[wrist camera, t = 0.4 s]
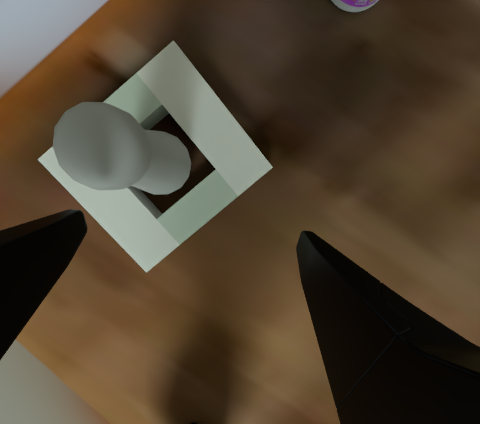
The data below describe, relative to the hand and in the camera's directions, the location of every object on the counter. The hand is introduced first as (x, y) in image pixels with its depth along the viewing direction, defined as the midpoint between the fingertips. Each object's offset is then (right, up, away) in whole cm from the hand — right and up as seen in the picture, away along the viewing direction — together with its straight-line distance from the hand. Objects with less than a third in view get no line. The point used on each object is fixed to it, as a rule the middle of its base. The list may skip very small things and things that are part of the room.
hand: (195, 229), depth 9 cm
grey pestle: (-6, +6, +14) cm, 16 cm away
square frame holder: (-6, +6, +14) cm, 16 cm away
